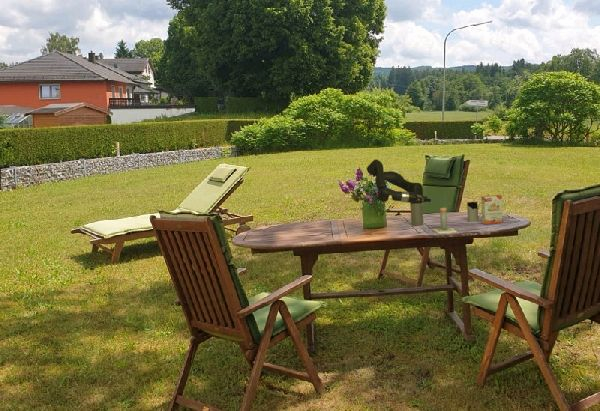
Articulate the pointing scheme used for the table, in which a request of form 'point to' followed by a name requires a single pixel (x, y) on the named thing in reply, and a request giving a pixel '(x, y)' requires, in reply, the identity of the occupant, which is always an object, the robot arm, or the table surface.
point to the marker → (443, 218)
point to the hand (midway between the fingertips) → (428, 199)
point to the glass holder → (472, 212)
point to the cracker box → (491, 209)
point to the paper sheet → (444, 230)
